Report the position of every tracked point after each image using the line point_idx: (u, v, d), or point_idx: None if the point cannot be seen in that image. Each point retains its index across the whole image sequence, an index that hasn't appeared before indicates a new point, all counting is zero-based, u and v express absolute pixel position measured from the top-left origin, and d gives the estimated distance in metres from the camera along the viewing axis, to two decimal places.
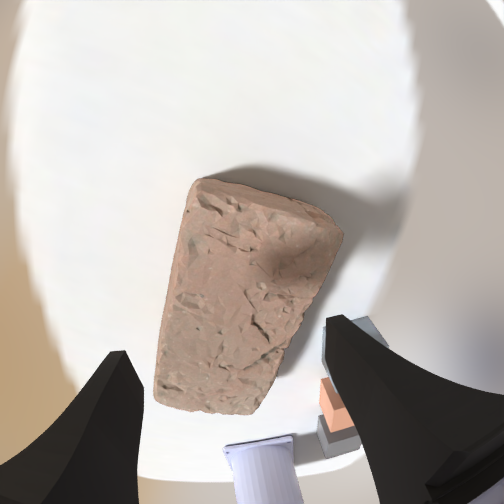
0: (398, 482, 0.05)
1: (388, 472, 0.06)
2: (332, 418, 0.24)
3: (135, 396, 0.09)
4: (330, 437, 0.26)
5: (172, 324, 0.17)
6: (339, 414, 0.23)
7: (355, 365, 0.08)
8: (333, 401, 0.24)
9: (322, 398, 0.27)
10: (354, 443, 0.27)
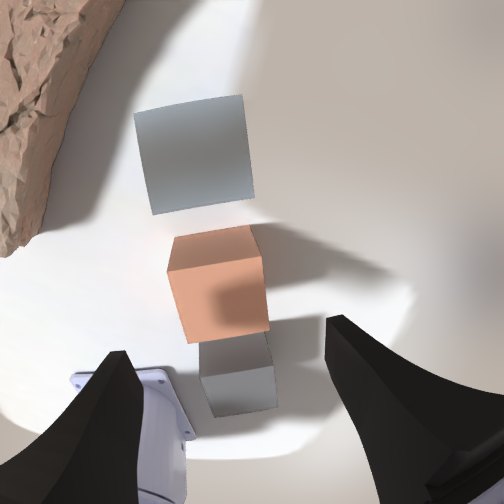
0: (398, 482, 0.05)
1: (388, 472, 0.06)
2: None
3: (135, 396, 0.09)
4: (206, 367, 0.16)
5: None
6: (185, 289, 0.13)
7: (355, 365, 0.08)
8: (174, 261, 0.13)
9: None
10: (261, 390, 0.16)
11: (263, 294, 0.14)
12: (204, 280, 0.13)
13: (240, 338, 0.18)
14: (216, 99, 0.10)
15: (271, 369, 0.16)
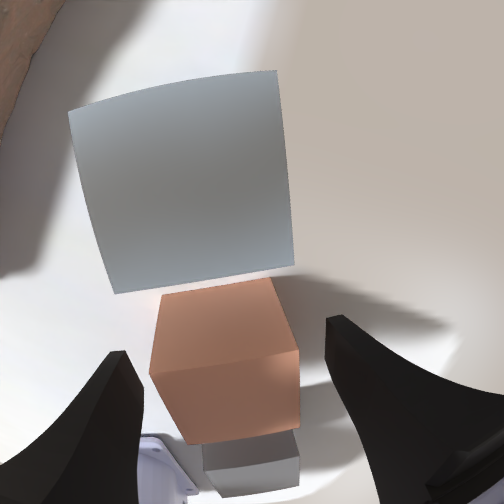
0: (398, 481, 0.05)
1: (388, 472, 0.06)
2: None
3: (135, 396, 0.09)
4: (211, 456, 0.11)
5: None
6: (179, 393, 0.08)
7: (355, 365, 0.08)
8: (160, 349, 0.08)
9: None
10: (281, 476, 0.11)
11: (296, 393, 0.08)
12: (208, 384, 0.08)
13: None
14: (225, 78, 0.05)
15: (296, 459, 0.11)
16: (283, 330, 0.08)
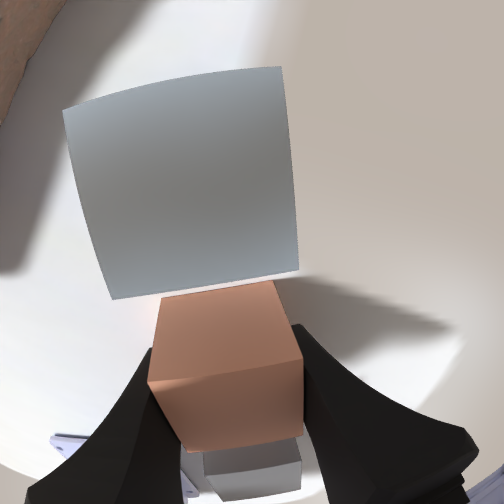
0: (342, 503, 0.05)
1: (335, 491, 0.06)
2: None
3: None
4: (212, 461, 0.11)
5: None
6: (178, 402, 0.07)
7: (304, 378, 0.08)
8: (159, 356, 0.08)
9: None
10: (283, 480, 0.11)
11: (300, 402, 0.08)
12: (208, 393, 0.07)
13: None
14: (227, 74, 0.05)
15: (298, 464, 0.10)
16: (286, 337, 0.08)
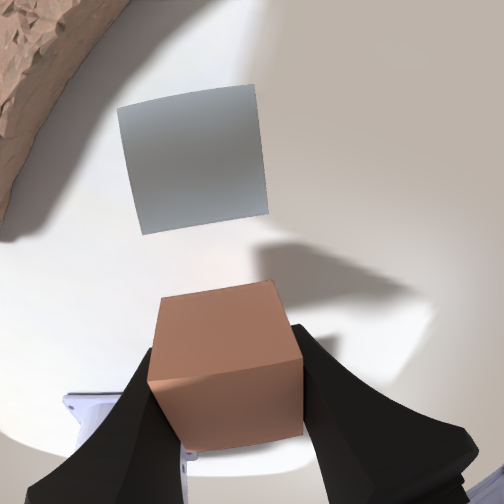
0: (342, 502, 0.05)
1: (335, 491, 0.06)
2: None
3: None
4: None
5: None
6: (178, 401, 0.07)
7: (304, 378, 0.08)
8: (159, 356, 0.08)
9: None
10: None
11: (299, 401, 0.08)
12: (208, 392, 0.07)
13: None
14: (221, 90, 0.08)
15: None
16: (286, 337, 0.08)
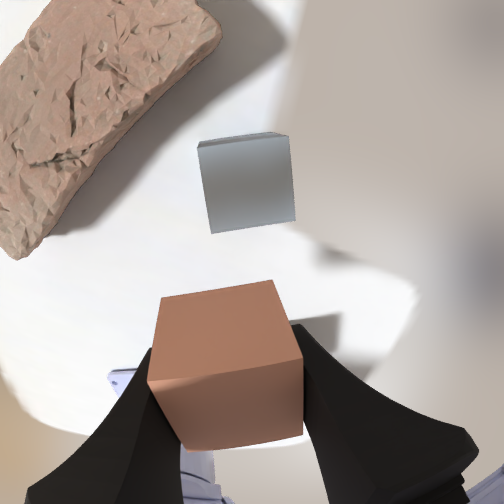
0: (342, 502, 0.05)
1: (335, 491, 0.06)
2: None
3: None
4: None
5: (8, 63, 0.09)
6: (178, 401, 0.07)
7: (304, 378, 0.08)
8: (158, 356, 0.08)
9: None
10: None
11: (299, 401, 0.08)
12: (208, 392, 0.07)
13: None
14: (267, 139, 0.13)
15: None
16: (286, 337, 0.08)
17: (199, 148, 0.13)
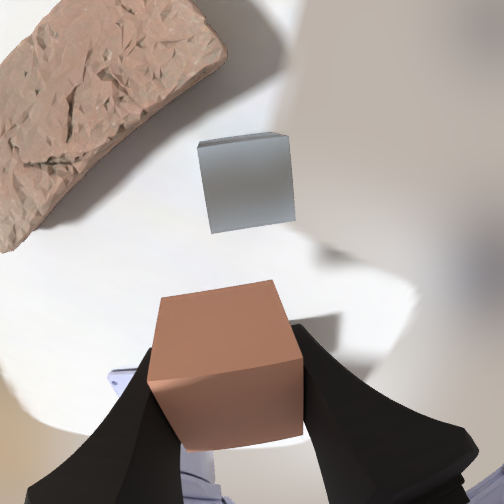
0: (342, 502, 0.05)
1: (335, 491, 0.06)
2: None
3: None
4: None
5: (14, 56, 0.09)
6: (178, 401, 0.07)
7: (304, 378, 0.08)
8: (158, 356, 0.08)
9: None
10: None
11: (299, 401, 0.08)
12: (208, 392, 0.07)
13: None
14: (267, 139, 0.13)
15: None
16: (286, 337, 0.08)
17: (199, 148, 0.13)
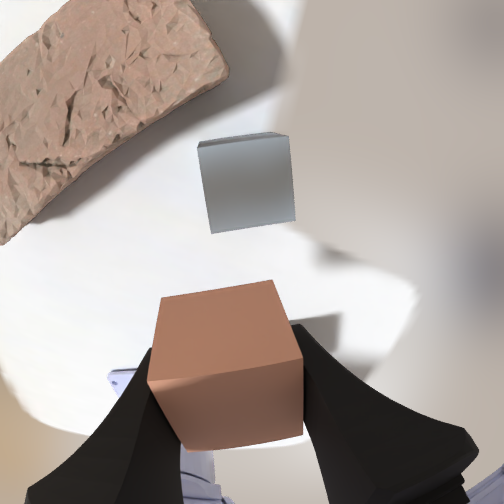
0: (342, 502, 0.05)
1: (335, 491, 0.06)
2: None
3: None
4: None
5: (18, 52, 0.09)
6: (178, 401, 0.07)
7: (304, 378, 0.08)
8: (158, 356, 0.08)
9: None
10: None
11: (299, 401, 0.08)
12: (208, 392, 0.07)
13: None
14: (267, 139, 0.13)
15: None
16: (286, 337, 0.08)
17: (199, 148, 0.13)
